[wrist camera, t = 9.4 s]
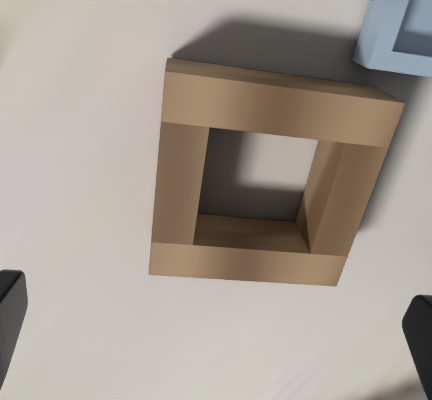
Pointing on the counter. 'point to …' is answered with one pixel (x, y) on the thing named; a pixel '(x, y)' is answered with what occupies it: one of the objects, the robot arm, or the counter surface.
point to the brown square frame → (277, 125)
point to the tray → (397, 37)
